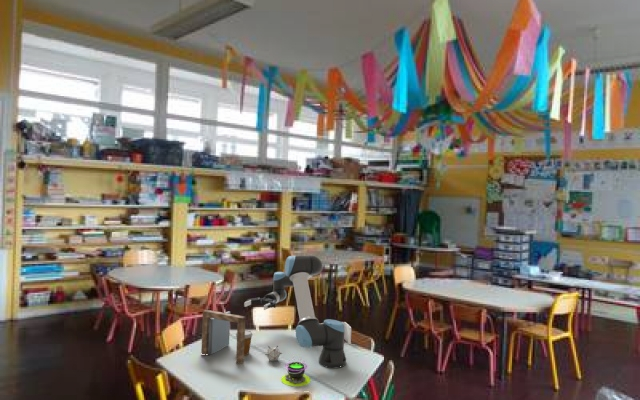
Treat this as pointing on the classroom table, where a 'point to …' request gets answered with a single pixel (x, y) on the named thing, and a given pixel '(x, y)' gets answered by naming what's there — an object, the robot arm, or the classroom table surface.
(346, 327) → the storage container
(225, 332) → the door
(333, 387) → the classroom table surface
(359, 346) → the classroom table surface
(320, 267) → the robot arm
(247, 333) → the disposable coffee cup
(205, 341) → the door frame
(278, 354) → the game die
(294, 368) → the toy cauldron
